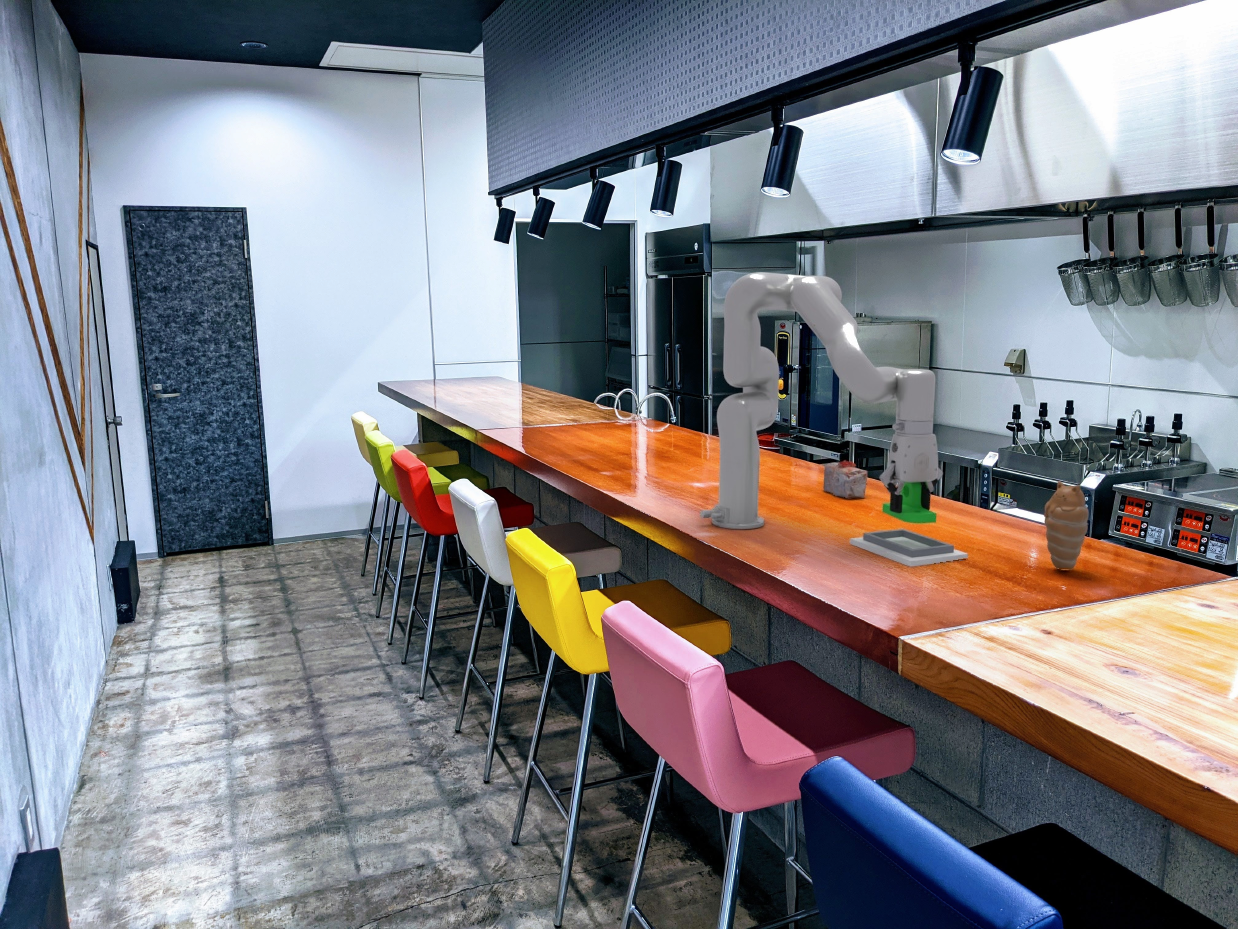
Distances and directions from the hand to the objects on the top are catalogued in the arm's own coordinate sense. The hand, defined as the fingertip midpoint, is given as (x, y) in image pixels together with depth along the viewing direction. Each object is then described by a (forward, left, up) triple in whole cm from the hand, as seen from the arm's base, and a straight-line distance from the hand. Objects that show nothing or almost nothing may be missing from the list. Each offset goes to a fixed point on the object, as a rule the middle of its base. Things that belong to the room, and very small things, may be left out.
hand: (909, 509), depth 200 cm
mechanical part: (0, 0, -2) cm, 2 cm away
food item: (+24, +55, -10) cm, 61 cm away
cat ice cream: (+19, -24, -9) cm, 32 cm away
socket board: (0, 0, -9) cm, 9 cm away
